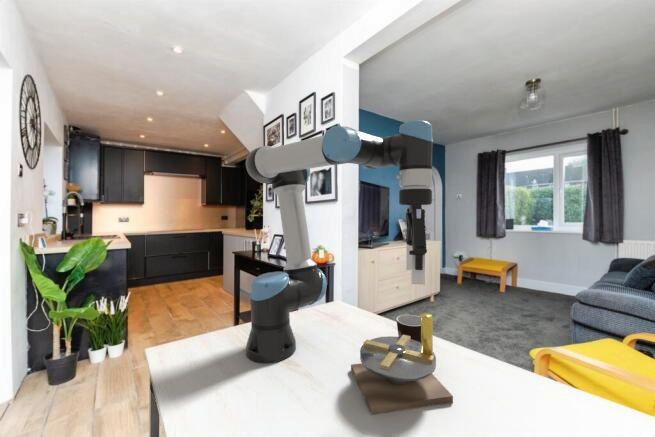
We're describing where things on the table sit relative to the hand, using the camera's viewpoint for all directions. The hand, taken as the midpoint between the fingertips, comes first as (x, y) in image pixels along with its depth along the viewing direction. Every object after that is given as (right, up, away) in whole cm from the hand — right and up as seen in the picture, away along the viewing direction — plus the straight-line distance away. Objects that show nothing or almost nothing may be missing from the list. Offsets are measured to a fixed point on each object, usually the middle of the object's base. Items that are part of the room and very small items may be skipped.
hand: (414, 276), depth 70 cm
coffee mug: (+4, -26, +18) cm, 32 cm away
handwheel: (-4, -21, +1) cm, 21 cm away
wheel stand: (-4, -27, +1) cm, 27 cm away
